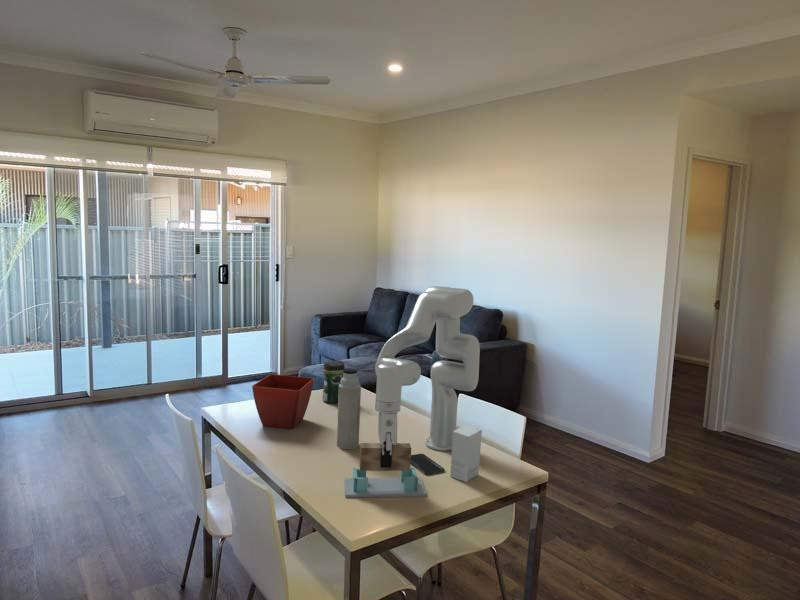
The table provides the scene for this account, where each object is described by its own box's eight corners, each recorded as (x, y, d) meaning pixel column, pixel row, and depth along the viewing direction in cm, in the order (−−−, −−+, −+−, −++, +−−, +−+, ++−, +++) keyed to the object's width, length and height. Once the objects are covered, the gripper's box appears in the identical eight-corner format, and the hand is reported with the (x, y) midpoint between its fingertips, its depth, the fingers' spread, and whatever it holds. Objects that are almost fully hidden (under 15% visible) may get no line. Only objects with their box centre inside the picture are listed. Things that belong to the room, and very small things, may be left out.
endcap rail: (420, 479, 176) (421, 465, 176) (426, 496, 165) (427, 480, 165) (344, 480, 173) (344, 466, 173) (345, 497, 162) (345, 481, 162)
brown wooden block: (408, 465, 171) (409, 443, 170) (410, 470, 167) (411, 448, 167) (359, 465, 169) (360, 443, 169) (360, 470, 165) (361, 447, 165)
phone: (422, 453, 196) (445, 469, 183) (422, 456, 196) (445, 472, 183) (402, 456, 193) (425, 473, 179) (402, 459, 193) (425, 476, 180)
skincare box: (463, 469, 186) (466, 424, 184) (480, 475, 182) (483, 429, 180) (449, 477, 179) (451, 430, 178) (466, 483, 175) (469, 435, 174)
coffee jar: (339, 397, 261) (340, 358, 259) (346, 402, 254) (347, 362, 252) (319, 399, 256) (321, 359, 254) (326, 404, 249) (327, 363, 247)
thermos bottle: (361, 442, 206) (364, 368, 202) (355, 450, 198) (358, 373, 195) (340, 440, 207) (343, 366, 204) (333, 447, 199) (336, 371, 196)
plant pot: (297, 433, 212) (299, 390, 210) (250, 428, 215) (251, 385, 213) (313, 417, 231) (314, 377, 229) (269, 413, 234) (270, 374, 232)
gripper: (404, 413, 158) (400, 475, 160) (397, 397, 175) (394, 453, 177) (377, 413, 158) (374, 475, 159) (373, 396, 174) (370, 453, 176)
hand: (385, 463), depth 168 cm, fingers closed on brown wooden block, 4 cm apart
